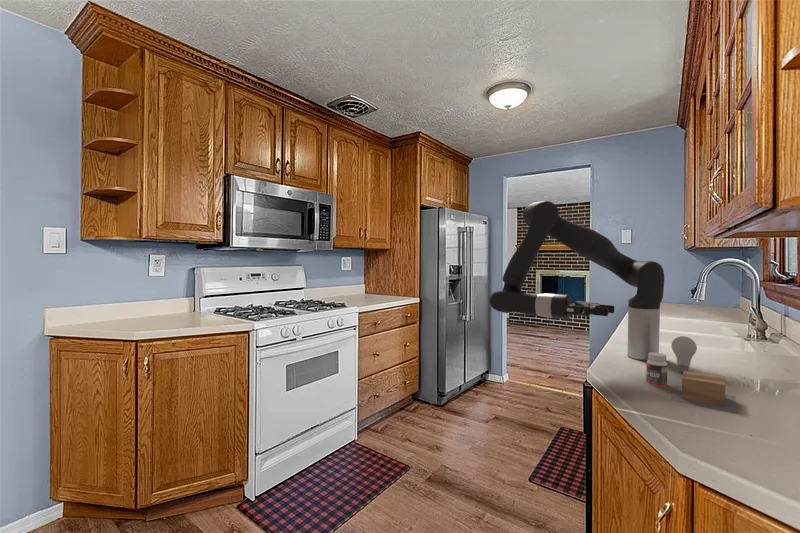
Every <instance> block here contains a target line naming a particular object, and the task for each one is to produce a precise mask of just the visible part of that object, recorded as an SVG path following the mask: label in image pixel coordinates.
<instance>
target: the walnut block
mask: <svg viewBox="0 0 800 533" xmlns="http://www.w3.org/2000/svg"><path fill="white" fill-rule="evenodd" d="M681 387H682V399H686V400H691V401H697V402H702V403H707V404H713V405H718V406H723V407H725V394H726V376H722V375H714V374H711V373H710V374H709V373H702V372H695V371H690V370H689V371H684V372H683V373H682V377H681Z"/></svg>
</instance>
